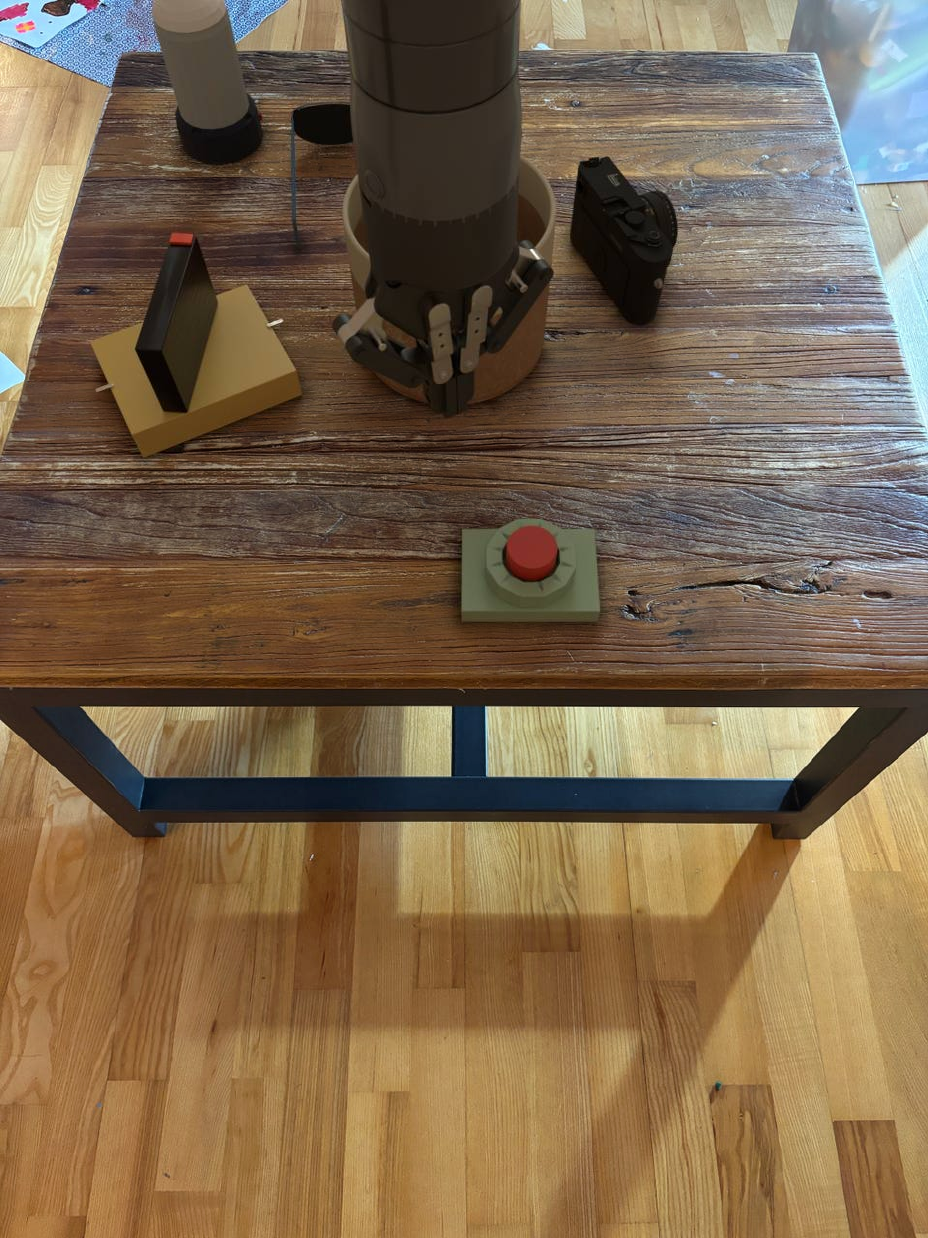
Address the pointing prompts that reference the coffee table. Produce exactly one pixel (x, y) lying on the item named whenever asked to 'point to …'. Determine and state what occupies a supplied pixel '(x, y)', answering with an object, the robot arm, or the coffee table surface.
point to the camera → (623, 237)
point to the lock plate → (203, 376)
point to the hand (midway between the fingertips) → (448, 405)
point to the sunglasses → (318, 134)
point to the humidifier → (207, 80)
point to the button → (531, 552)
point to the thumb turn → (177, 323)
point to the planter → (528, 338)
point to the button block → (518, 600)
